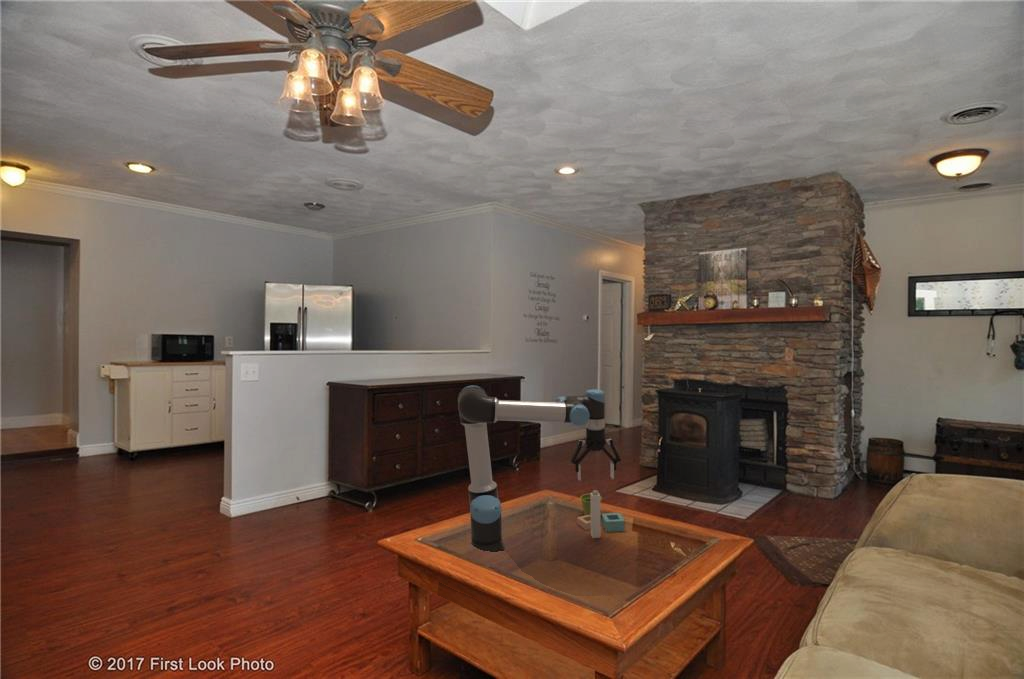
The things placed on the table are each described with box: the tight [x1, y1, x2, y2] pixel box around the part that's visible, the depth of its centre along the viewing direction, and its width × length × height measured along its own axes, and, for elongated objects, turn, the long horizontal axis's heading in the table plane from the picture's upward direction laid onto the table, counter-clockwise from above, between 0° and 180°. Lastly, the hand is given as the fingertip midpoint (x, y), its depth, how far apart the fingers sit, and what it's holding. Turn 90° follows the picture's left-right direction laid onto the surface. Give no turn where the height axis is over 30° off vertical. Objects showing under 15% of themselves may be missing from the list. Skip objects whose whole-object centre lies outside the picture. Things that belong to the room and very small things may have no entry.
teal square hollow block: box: [601, 512, 626, 533], centre depth 237 cm, size 8×8×4 cm
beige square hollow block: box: [576, 514, 591, 531], centre depth 240 cm, size 7×7×3 cm
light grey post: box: [589, 489, 602, 539], centre depth 229 cm, size 3×3×20 cm
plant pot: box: [579, 493, 603, 516], centre depth 248 cm, size 9×9×9 cm
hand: (595, 478), depth 227 cm, fingers open, 13 cm apart
